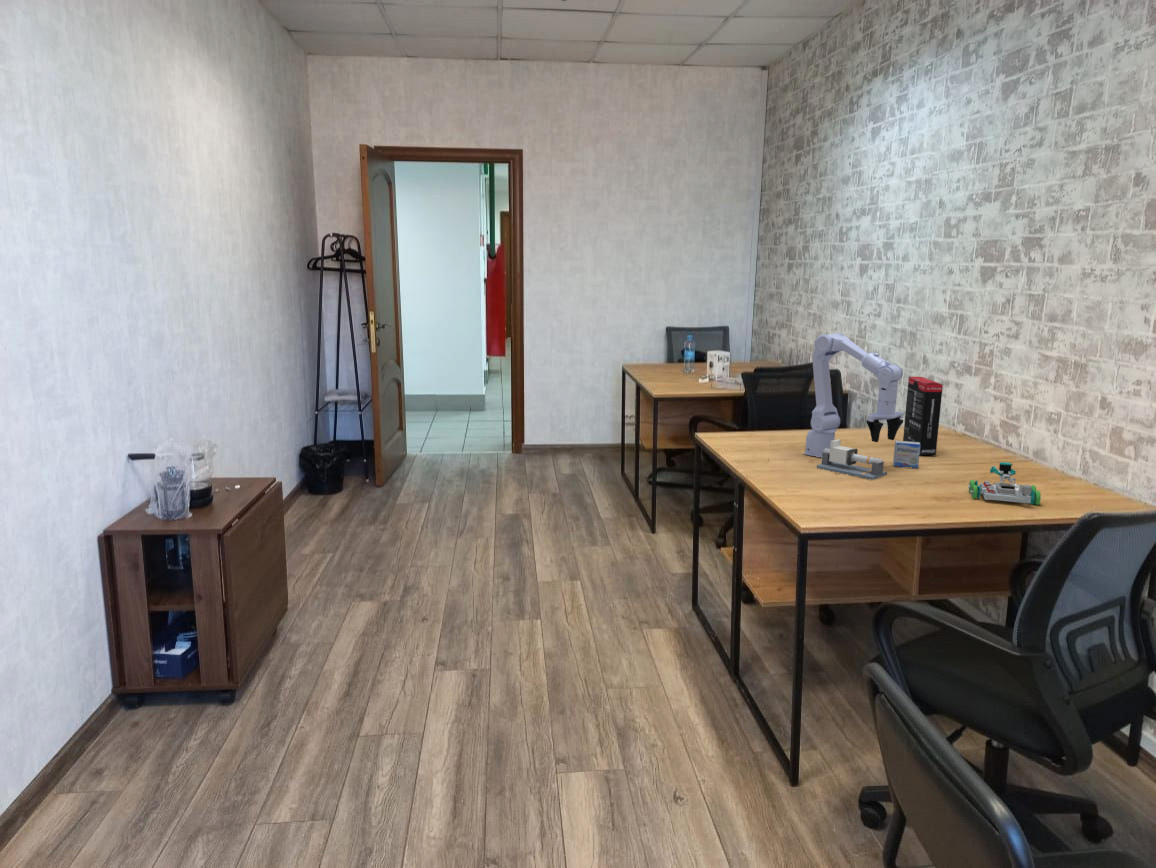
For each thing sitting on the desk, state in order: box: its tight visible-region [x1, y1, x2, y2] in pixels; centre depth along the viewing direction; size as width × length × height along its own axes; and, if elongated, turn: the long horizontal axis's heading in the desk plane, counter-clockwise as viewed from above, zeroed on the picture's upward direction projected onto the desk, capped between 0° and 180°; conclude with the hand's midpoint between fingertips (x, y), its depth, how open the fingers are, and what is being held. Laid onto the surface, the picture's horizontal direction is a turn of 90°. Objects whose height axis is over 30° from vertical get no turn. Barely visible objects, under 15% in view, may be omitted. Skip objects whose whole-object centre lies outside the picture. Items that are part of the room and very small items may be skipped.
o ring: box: [847, 448, 858, 466], centre depth 266 cm, size 1×5×5 cm, turn 133°
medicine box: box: [892, 440, 921, 469], centre depth 274 cm, size 8×4×9 cm, turn 73°
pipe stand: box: [816, 448, 888, 481], centre depth 266 cm, size 20×10×6 cm, turn 43°
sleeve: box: [829, 438, 855, 465], centre depth 268 cm, size 6×5×7 cm
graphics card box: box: [902, 376, 944, 455], centre depth 294 cm, size 17×7×27 cm, turn 179°
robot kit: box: [967, 461, 1042, 506], centre depth 242 cm, size 19×25×9 cm
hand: (882, 440), depth 268 cm, fingers open, 7 cm apart
